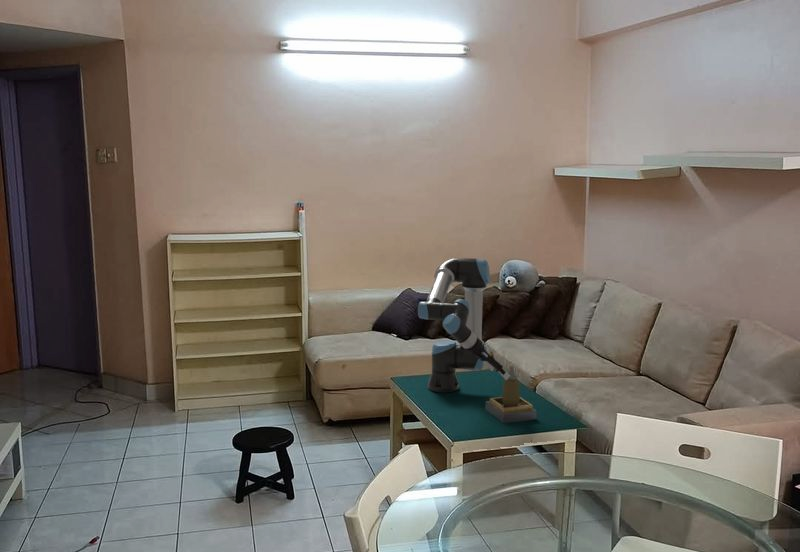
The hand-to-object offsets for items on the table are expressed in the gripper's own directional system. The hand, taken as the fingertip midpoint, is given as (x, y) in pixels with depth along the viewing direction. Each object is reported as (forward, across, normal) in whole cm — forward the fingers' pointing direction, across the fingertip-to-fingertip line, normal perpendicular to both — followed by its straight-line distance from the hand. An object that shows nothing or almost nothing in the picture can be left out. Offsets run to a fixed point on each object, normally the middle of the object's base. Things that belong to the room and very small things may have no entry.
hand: (500, 373), depth 344 cm
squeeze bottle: (+15, 0, -7) cm, 17 cm away
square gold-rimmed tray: (+18, 0, -10) cm, 21 cm away
